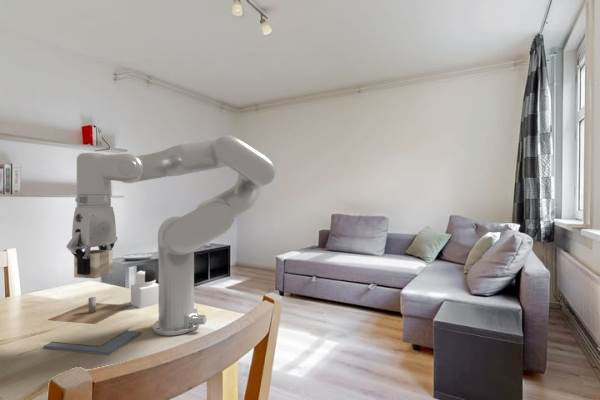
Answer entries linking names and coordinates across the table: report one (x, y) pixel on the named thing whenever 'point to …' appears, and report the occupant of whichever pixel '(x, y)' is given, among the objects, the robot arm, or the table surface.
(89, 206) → the robot arm
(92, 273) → the ring block
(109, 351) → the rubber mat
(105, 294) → the table surface
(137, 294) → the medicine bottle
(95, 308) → the peg stand
